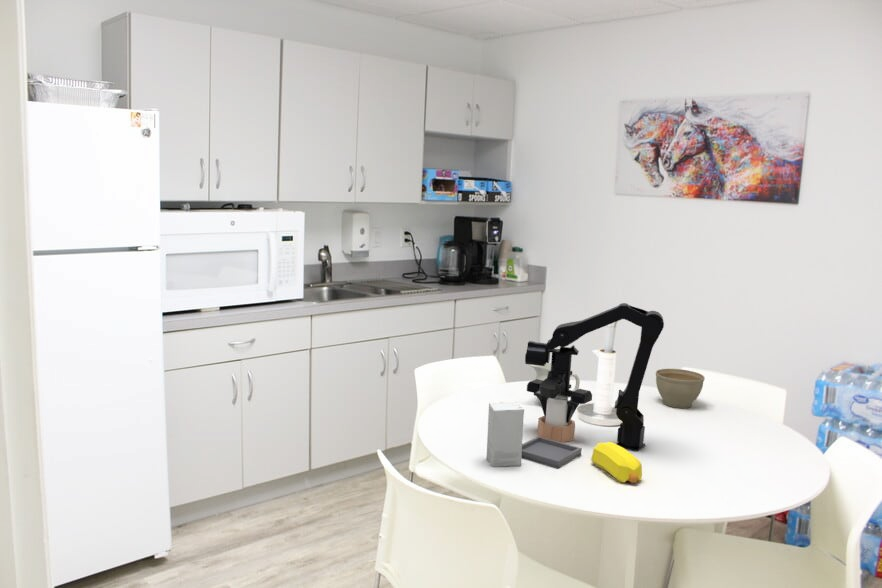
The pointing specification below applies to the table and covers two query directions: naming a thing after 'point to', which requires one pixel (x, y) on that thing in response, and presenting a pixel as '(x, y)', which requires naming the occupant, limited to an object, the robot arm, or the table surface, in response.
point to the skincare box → (505, 434)
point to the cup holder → (556, 431)
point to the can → (557, 411)
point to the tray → (549, 452)
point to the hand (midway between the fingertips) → (556, 419)
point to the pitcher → (543, 373)
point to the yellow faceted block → (617, 462)
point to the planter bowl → (679, 386)
